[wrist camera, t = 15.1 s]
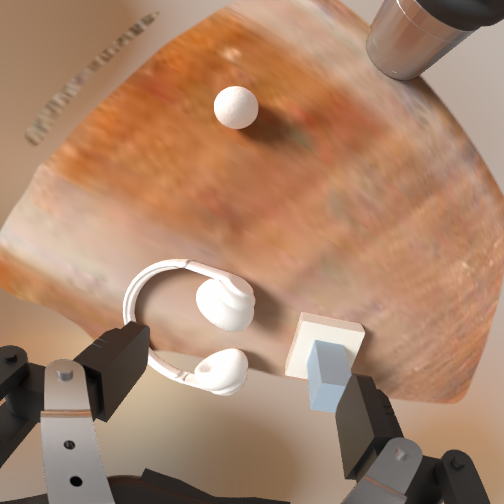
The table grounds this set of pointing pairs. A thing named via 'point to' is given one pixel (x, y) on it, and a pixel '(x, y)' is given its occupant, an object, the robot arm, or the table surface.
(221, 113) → the egg
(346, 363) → the pillar
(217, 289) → the headphones
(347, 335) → the base
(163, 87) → the table surface
